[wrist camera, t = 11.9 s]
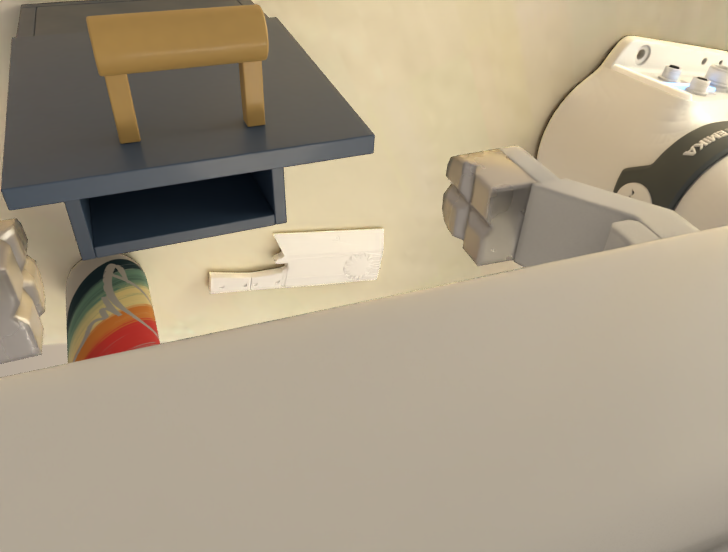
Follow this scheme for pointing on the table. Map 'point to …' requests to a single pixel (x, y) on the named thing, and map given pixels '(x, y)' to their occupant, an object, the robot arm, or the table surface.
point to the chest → (167, 203)
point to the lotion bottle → (108, 308)
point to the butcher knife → (312, 261)
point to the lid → (166, 105)
